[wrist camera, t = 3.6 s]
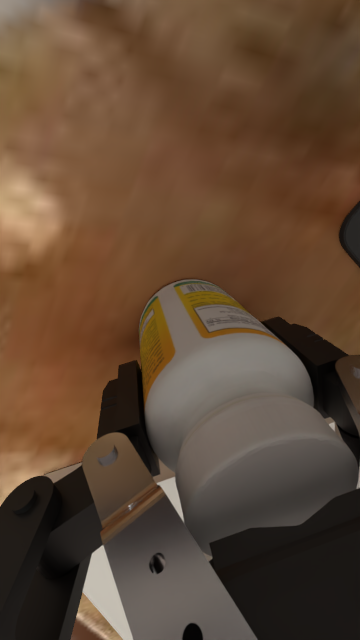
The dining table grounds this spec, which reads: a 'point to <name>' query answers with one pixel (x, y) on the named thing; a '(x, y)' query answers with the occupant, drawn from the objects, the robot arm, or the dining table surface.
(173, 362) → the supplement bottle
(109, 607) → the socket block
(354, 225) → the phone
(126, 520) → the robot arm
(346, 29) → the dining table surface
